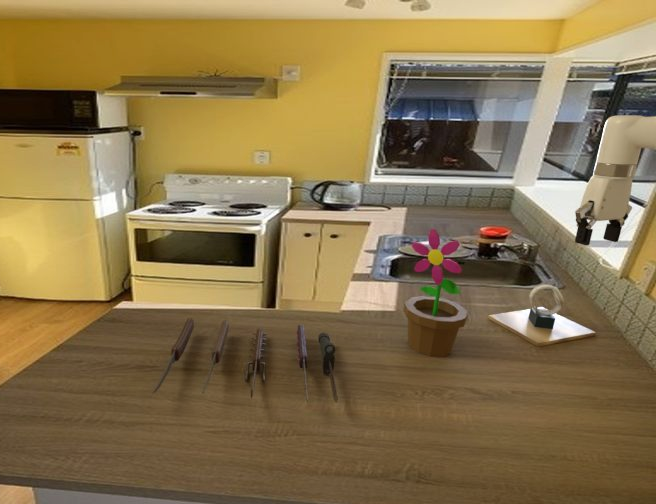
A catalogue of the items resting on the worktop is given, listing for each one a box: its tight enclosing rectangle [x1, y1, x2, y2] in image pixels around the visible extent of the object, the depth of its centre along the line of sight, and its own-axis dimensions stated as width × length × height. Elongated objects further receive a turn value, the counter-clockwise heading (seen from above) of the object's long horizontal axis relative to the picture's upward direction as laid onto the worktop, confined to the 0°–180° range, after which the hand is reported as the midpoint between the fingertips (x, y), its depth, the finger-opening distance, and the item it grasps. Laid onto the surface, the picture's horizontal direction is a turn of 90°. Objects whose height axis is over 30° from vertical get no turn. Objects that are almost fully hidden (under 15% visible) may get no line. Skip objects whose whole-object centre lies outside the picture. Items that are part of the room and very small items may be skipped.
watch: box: [528, 283, 566, 329], centre depth 113 cm, size 6×8×11 cm
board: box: [487, 306, 597, 347], centre depth 115 cm, size 20×16×1 cm
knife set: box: [151, 317, 339, 404], centre depth 90 cm, size 35×33×8 cm
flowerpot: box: [403, 228, 469, 358], centre depth 100 cm, size 14×14×30 cm
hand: (596, 242), depth 104 cm, fingers open, 9 cm apart
